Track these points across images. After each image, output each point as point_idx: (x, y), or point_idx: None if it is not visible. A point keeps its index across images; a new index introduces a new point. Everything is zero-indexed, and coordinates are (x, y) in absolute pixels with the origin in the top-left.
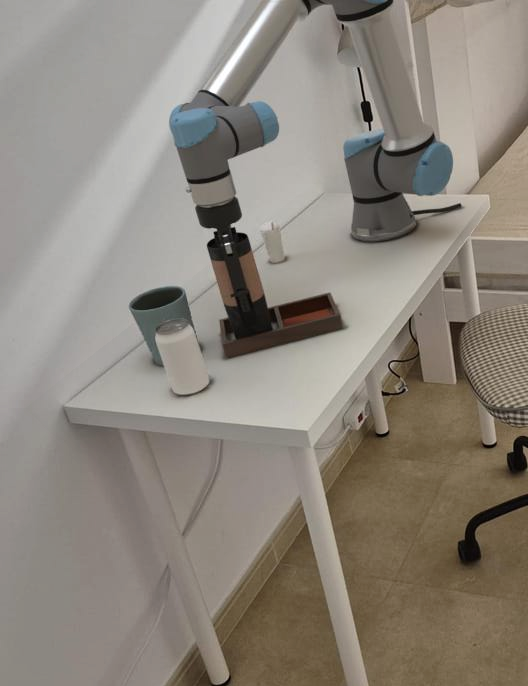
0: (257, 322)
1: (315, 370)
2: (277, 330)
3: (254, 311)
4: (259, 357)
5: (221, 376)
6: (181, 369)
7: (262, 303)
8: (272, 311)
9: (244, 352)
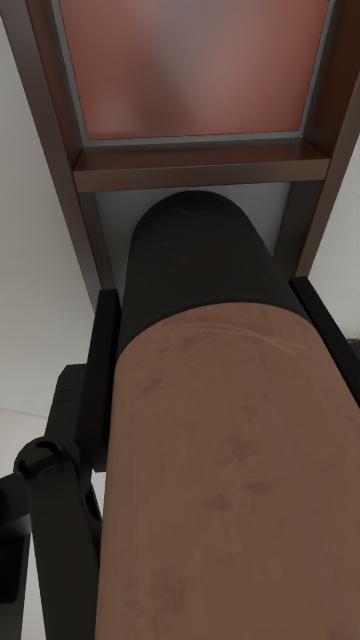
0: (307, 282)
1: None
2: (337, 190)
3: (332, 318)
4: (335, 242)
5: (347, 321)
6: None
7: (286, 290)
8: (82, 196)
9: None
